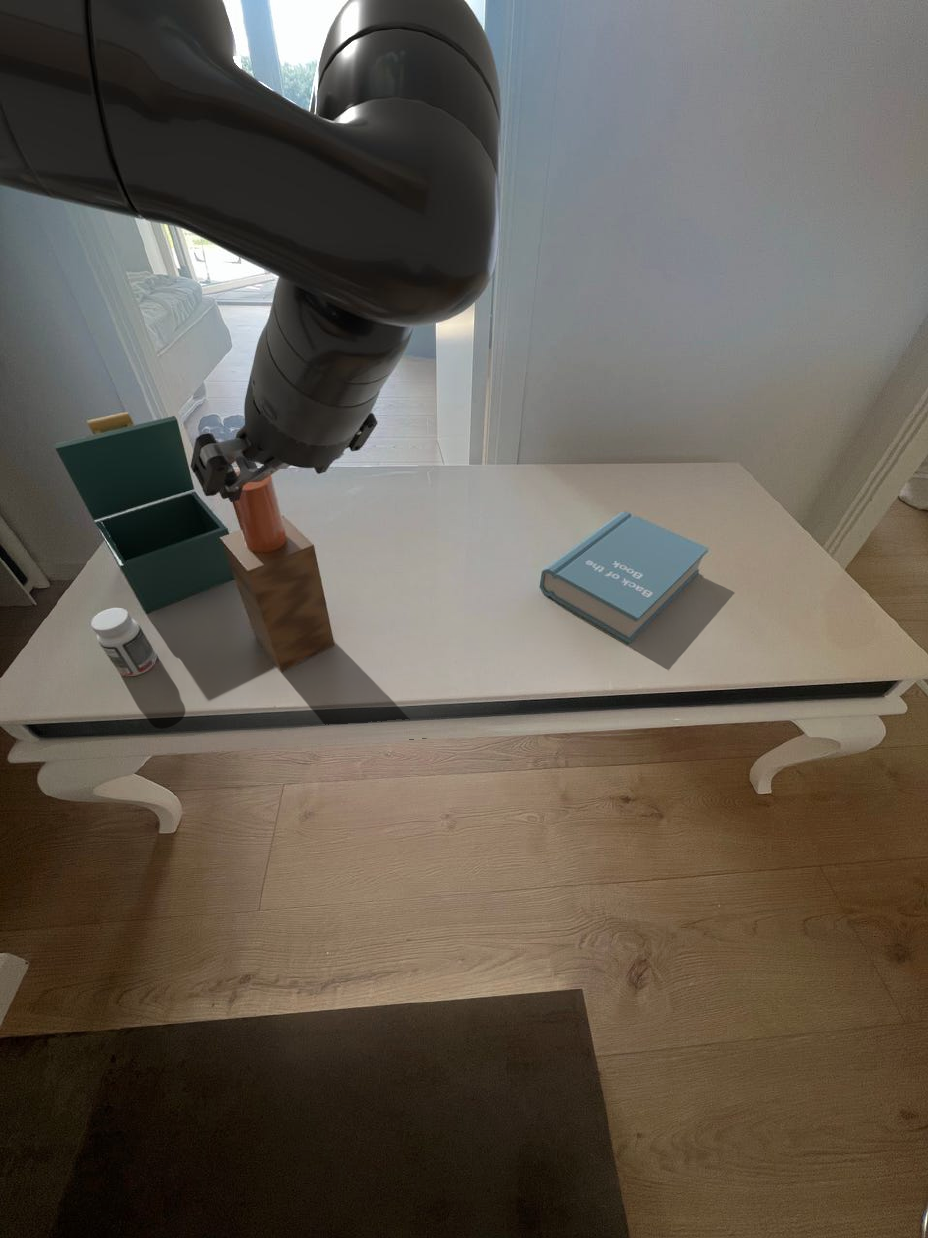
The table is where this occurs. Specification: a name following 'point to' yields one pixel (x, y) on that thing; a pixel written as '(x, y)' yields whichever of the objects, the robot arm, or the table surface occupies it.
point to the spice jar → (260, 516)
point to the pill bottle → (123, 641)
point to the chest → (168, 549)
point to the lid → (126, 463)
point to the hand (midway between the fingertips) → (274, 476)
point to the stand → (282, 596)
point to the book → (623, 574)
